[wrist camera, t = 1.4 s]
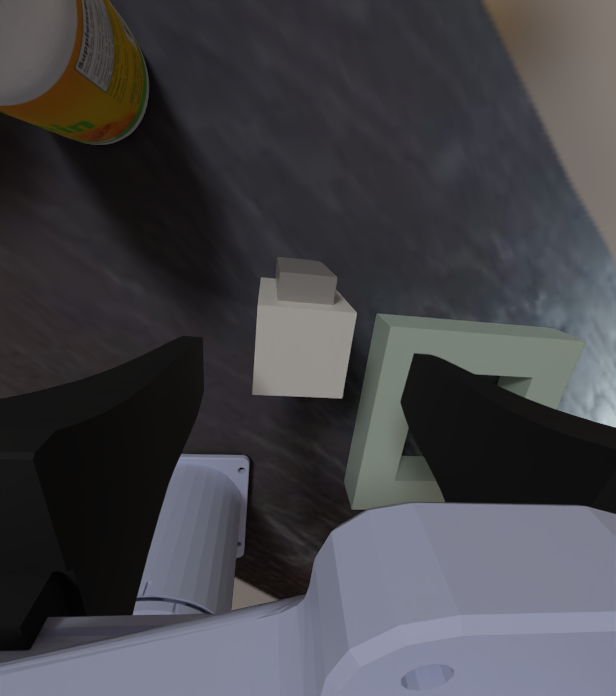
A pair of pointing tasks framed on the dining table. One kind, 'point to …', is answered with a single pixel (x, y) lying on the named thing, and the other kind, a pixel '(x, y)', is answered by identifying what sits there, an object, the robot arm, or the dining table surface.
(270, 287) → the plug
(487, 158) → the dining table surface
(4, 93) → the supplement bottle
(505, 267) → the dining table surface
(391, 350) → the socket board
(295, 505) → the dining table surface
